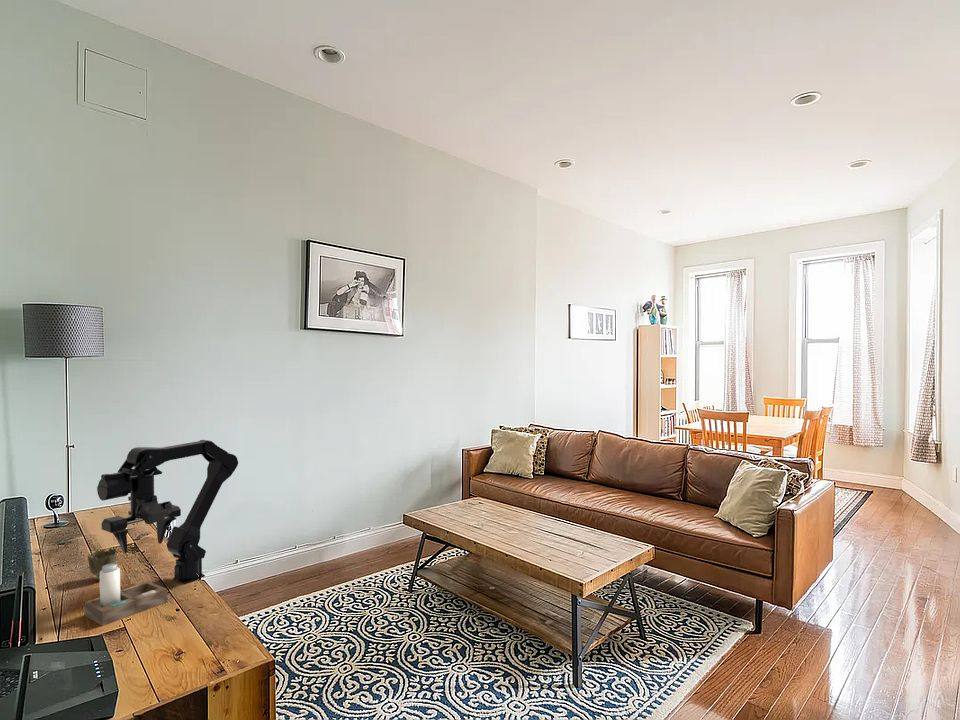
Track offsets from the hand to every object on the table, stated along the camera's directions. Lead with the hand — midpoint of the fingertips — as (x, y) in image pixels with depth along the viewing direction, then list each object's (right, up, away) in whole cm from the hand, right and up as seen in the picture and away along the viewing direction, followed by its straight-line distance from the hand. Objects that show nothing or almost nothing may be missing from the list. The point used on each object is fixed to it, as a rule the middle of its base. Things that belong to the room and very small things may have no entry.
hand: (143, 548), depth 156 cm
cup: (-19, -13, +11) cm, 26 cm away
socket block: (0, -13, -9) cm, 16 cm away
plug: (-1, -13, -12) cm, 18 cm away
